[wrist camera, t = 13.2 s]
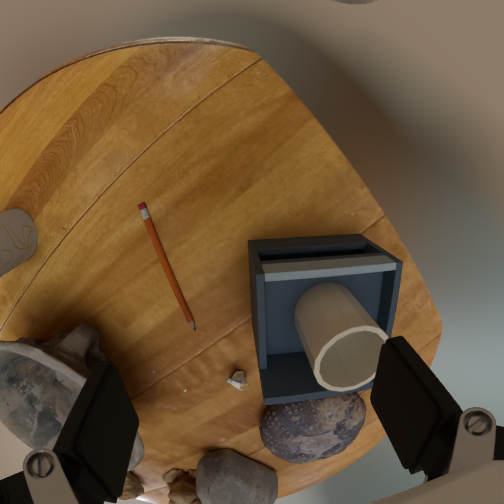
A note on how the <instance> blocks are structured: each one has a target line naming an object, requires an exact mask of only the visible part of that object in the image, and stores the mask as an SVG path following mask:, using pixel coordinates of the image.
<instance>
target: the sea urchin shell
mask: <svg viewBox="0 0 504 504" xmlns="http://www.w3.org/2000/svg"><path fill="white" fill-rule="evenodd" d="M366 410H367V409H366V405H365V402H364V401H363V399H362V398H361V397H359V395H358V393H356V392H352V393H347V394H342V395H337V396H331V397H325V398H319V399H313V400H306V401H299V402H291V403H283V404H273V405H271V406H270V407H269V408H268V410H267V411H266V413H265V415H264V416H263V418H262V419H261V424H260V427H259V429H260V435H261V440H262V441H263V443H264V446H265V447H267V448H268V450H270V451H271V452H272V454H275V455H276V457H279V458H281V459H283V460H286V461H288V462H290V463H296V464H301V463H309V462H313V461H316V460H319V459H325V458H328V457H330V456H333V455H336V454H339V453H341V452H342V451H344V450H345V449H346V447H347V446H348V445H350V444H351V443H352V442H353V440H354V439H355V438H356V437H357V435H358V433H359V431H360V430H361V428H362V426H363V424H364V420H365V415H366Z"/></svg>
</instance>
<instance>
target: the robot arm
mask: <svg viewBox="0 0 504 504" xmlns="http://www.w3.org/2000/svg"><path fill="white" fill-rule="evenodd" d="M370 400H371V404H372V406H373V408H374V410H375V412H376V414H377V416H378V418H379V420H380V422H381V424H382V426H383V428H384V430H385V432H386V434H387V435H388V437H389V439H390V441H391V443H392V445H393V447H394V450H395V452H396V454H397V455H398V458H399V460H400V462H401V464H402V466H403V467H404V468H405V469H409V472H410V474H414V473H417V472H419V471H422V470H423V471H424V473H425V475H426V476H425V480H424V482H423V484H421V485H419V486H416V487H414V488H411V489H408V490H406V491H403V492H400V493H397V494H395V495H392V496H389V497H386V498H383V499H380V500H377V501H374V502H370V503H367V504H504V427H502V426H497V425H496V421H495V418H494V416H493V415H492V414H491V413H490V412H489V411H488V410H486V409H483V408H480V407H473V408H469V409H467V410H465V411H464V412H463V411H462V410H461V408H460V406H459V405H458V404H457V402H456V401H455V400H454V399H453V397H452V396H451V395H450V393H449V392H448V391H447V390H446V388H445V387H444V386H443V385H442V383H441V382H440V381H439V379H438V378H437V377H436V376H435V375H434V373H433V372H432V371H431V370H430V368H429V367H428V366H427V365H426V363H425V362H424V361H423V360H422V359H421V357H420V356H419V355H418V354H417V353H416V351H415V350H414V349H413V348H412V347H411V345H410V344H409V343H408V342H407V341H406V339H405V338H404V337H403V336H397V337H393V338H388V339H387V340H386V341H385V343H384V344H382V346H381V350H380V355H379V360H378V365H377V369H376V374H375V378H374V383H373V387H372V391H371V395H370ZM138 427H139V419H138V416H137V414H136V411H135V409H134V407H133V405H132V402H131V400H130V398H129V395H128V393H127V391H126V388H125V386H124V383H123V381H122V378H121V376H120V373H119V371H118V369H117V368H115V367H113V365H112V364H110V363H96V364H95V365H94V367H93V369H92V370H91V372H90V374H89V376H88V378H87V380H86V382H85V384H84V386H83V387H82V389H81V391H80V393H79V395H78V397H77V399H76V401H75V403H74V405H73V407H72V409H71V411H70V413H69V415H68V417H67V419H66V421H65V423H64V425H63V428H62V430H61V432H60V434H59V436H58V438H57V441H56V443H55V445H54V447H53V449H52V451H51V450H49V449H46V448H39V449H35V450H33V451H31V452H30V453H29V454H28V455H27V456H26V458H25V459H24V462H23V471H21V472H19V473H16V474H14V475H12V476H9V477H7V478H4V479H2V480H0V504H104V501H106V502H111V503H116V502H117V498H118V497H121V496H122V493H123V489H124V484H125V480H126V475H127V471H128V467H129V462H130V458H131V454H132V450H133V446H134V442H135V438H136V434H137V430H138Z"/></svg>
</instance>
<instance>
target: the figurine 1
mask: <svg viewBox="0 0 504 504" xmlns="http://www.w3.org/2000/svg"><path fill="white" fill-rule="evenodd" d="M196 470H197V469H196ZM196 470H192V469H188V472H187V473H186V472H183V470H181V469H172V470H170V471H169V472H167V473H165V474H164V475H163V480H164V481H165V482H166V484H167V485H168V487H169V489H170V492H169V494H168V497H169V498H170V501H169V504H203V503H202V502H201V500H200V498H199V497H198V495H197V491H196Z"/></svg>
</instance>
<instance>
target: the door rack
mask: <svg viewBox="0 0 504 504" xmlns="http://www.w3.org/2000/svg"><path fill="white" fill-rule="evenodd" d="M248 253H249V272H250V292H251V311H252V326H253V333H254V340H255V346H256V353H257V360H258V367H259V373H260V380H261V387H262V393H263V400H264V405H273V404H283V403H291V402H299V401H306V400H313V399H319V398H325V397H331V396H337V395H342V394H347V393H352V392H357V391H362V390H366V389H371V388H372V387H373V383H374V378H373V379H372V380H371V381H370V382H369V383H367V384H365V385H363V386H361V387H359V388H357V389H353V390H348V391H343V392H342V391H341V392H339V391H332V390H328V389H326V388H324V387H323V386H321V385H320V384H319V383H318V382H317V380H316V378H315V375H314V373H313V371H312V368H311V365H310V363H309V360H308V357H307V355H306V352H305V350H304V347H303V344H302V342H301V339H300V336H299V334H298V331H297V329H296V326H295V322H294V310H295V307H296V304H297V302H298V300H299V299H300V297H301V296H302V295H303V294H304V293H305V292H306V291H307V290H309V289H310V288H312V287H314V286H316V285H318V284H322V283H328V282H332V283H338V284H341V285H343V286H345V287H346V288H348V289H349V290H350V292H351V293H352V294H353V295H354V296H355V297H356V298H357V299H358V300H359V302H360V303H361V304H362V305H363V306H364V308H365V309H366V310H367V311H368V312H369V313H370V315H371V316H372V317H373V318H374V319H375V321H376V322H377V323H378V324H379V326H380V327H381V328H382V329H383V330H384V332H385V333H386V334H387V335H388V337H389V338H391V333H392V328H393V323H394V318H395V312H396V307H397V301H398V294H399V288H400V281H401V273H402V265H403V262H402V261H400V260H399V259H397V258H396V257H394V256H393V255H391V254H390V253H388V252H387V251H385V250H384V249H382V248H381V247H379V246H378V245H376V244H375V243H373V242H372V241H370V240H369V239H367V238H365V237H364V236H362V235H361V234H351V235H332V236H314V237H297V238H280V239H263V240H248Z"/></svg>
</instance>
